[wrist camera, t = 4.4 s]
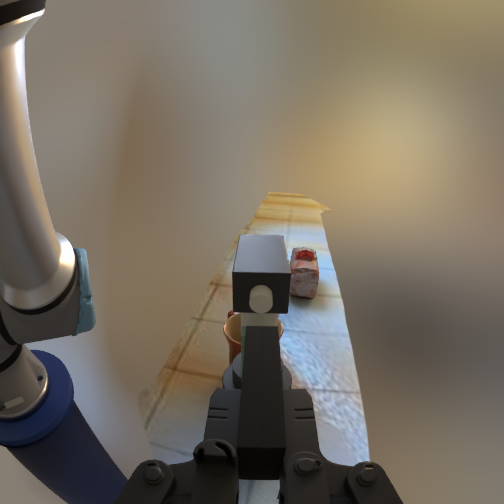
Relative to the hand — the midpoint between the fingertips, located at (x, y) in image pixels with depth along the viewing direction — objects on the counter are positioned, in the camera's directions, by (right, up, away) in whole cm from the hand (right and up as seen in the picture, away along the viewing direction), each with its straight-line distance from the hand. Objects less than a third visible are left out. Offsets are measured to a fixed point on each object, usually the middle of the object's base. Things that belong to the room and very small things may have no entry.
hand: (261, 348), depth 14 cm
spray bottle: (0, -22, +18) cm, 28 cm away
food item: (+12, -4, +61) cm, 62 cm away
